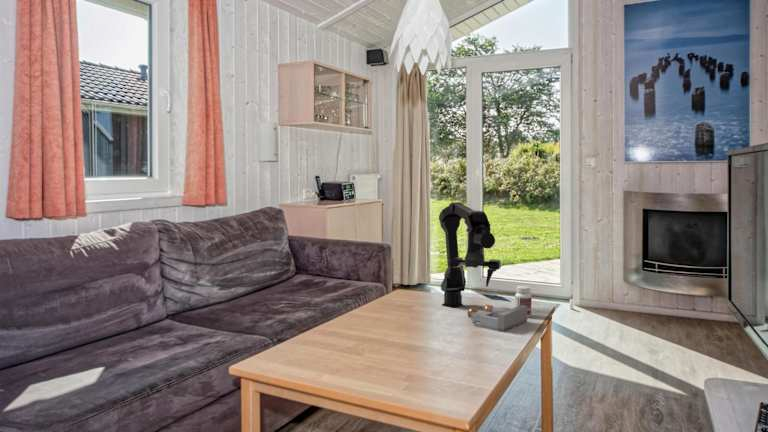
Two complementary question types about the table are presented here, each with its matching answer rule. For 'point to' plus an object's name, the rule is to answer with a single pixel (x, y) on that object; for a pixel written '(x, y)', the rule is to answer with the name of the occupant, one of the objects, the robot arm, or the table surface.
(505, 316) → the mount
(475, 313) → the knob near
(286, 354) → the table surface
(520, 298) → the pill bottle
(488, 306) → the knob far
